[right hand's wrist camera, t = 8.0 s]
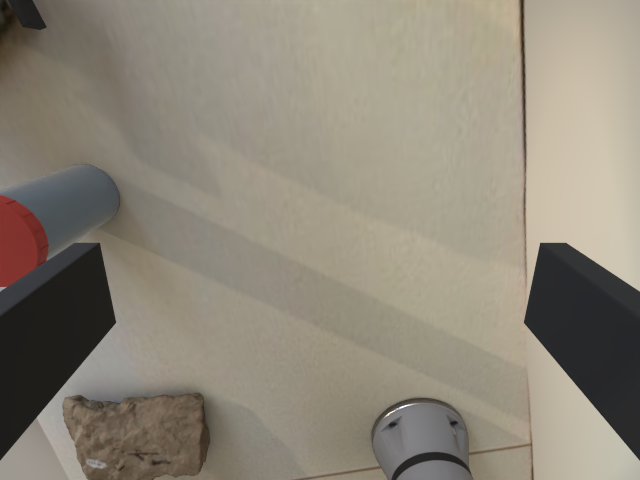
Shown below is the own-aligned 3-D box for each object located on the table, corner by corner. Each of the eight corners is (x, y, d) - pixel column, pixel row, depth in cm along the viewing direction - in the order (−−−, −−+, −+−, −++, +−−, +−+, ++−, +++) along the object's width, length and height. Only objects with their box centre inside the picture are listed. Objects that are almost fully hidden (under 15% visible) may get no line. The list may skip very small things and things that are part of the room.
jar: (52, 212, 54) (-56, 266, 39) (61, 155, 52) (-52, 187, 36) (113, 232, 55) (32, 292, 40) (125, 177, 53) (42, 218, 37)
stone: (77, 475, 67) (60, 504, 61) (68, 389, 65) (50, 410, 59) (211, 460, 70) (208, 485, 64) (207, 377, 68) (203, 396, 62)
